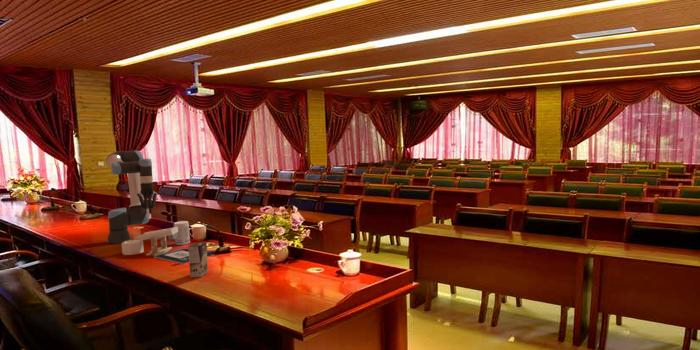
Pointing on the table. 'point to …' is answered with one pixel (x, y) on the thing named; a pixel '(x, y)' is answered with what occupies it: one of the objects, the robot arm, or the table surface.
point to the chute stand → (159, 249)
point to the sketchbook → (177, 256)
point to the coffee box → (198, 259)
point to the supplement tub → (182, 233)
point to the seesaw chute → (160, 234)
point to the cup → (132, 247)
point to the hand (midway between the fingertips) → (149, 218)
